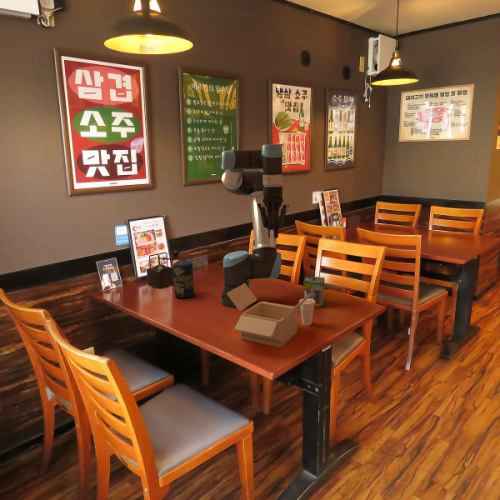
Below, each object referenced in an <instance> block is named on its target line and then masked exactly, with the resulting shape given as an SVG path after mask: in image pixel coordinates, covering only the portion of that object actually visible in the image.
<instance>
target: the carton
mask: <svg viewBox="0 0 500 500" xmlns="http://www.w3.org/2000/svg"><path fill="white" fill-rule="evenodd" d="M292 309H293V308H292V307H286V306H280V305H274V304H268V303H262V301H259V302H258V303H256V304H254V305H253V306H252V307H249V308H248V309H246V310H245V311H244V312H242V313H240V316H241V315H243V316H248V317H253V318H259V319H264V320H269V321H274V322H277V325H276V328H275V330H274V332H273V335H272V337H267V336H262V335H257V334H253V333H248V332H243V331H241V339H242V340H244V341H249V342H253V343H256V344H257V343H258V344H261V345H267V346H271V347H276V348H281V349H282V347H284V346H285V345H286V344H287V343H288V342H289V341H290V340H291V339H292V338H294V336H295V335H297V333H298V314H297V313H298V312H297V309H296V310H295V311H294V312H292V313H291V314H290V315H289V316H287V317H286V318H285V319H283V318H284V317H285V316H286V315H287V314H288V313H289V312H290V311H291V310H292Z"/></svg>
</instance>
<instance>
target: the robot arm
mask: <svg viewBox="0 0 500 500" xmlns="http://www.w3.org/2000/svg"><path fill="white" fill-rule="evenodd" d="M283 155H284V153H283V145H282V144H280V143H271V144H270V143H269V144H263V145H262V148H261V149H238V150H237V149H235V150H233V149H230V150H224V151H222V153H221V165H222V169H223V170H225V171H224V173H223V174H222V177H221V185H222V186H223V188H224V189H225V190H226V191H227V192H229V193H231V194H232V195H236V196H247V197H246V198H247V200H248V201H249V202H250V205H251V206H250V207H251V216H252V217H251V219H252V227H253V229H252V230H253V240H254V248H253V249H252V251H251V254H250V253H249V251H247V250H237V251H234V252H233V251H232V252H229V253H226V255H224V257H223V264H222V268H223V282H224V283H223V284H224V285H223V290H222V293H221V296H220V299H221V301H220V302H221V304H222V305H223V306H225V307H230V308H237V307H236V306H235V304H234V303H233V302H232V300H231V299H230V298H229V296H228V295H227V294H226V293H228V292H229V291H231V290H233V289H235V288H237V287H239V286H241V285H242V284H244V283H245V284H246V285H247V286H248V288H249V289H250V290H251V292H252V293H253V291H252V289H251V286H250V280H264V279H265V280H266V279H267V280H268V279H269V280H270V279H275V278H278V277H279V276H280V275H281V271H282V254H281V252H278V249H277V245H278V238H279V230H280V229H284V224H285V220H286V215H287V210H288V209H289V206H290V204H288V203H287V204H286V203H285V202H284V199H283V195H284V194H283V191H284V190H283V186H282V185H283V184H284V183H283V182H284V181H283ZM280 208H281V209H280Z"/></svg>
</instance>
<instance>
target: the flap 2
mask: <svg viewBox="0 0 500 500" xmlns="http://www.w3.org/2000/svg"><path fill="white" fill-rule="evenodd" d="M276 325H277V322H274V321H269V320H264V319H259V318H253V317H248V316H243V315H241V314H240V316H239V319H238V320H237V323H236V325H235V327H234V331H240V332H242V331H243V332H248V333H253V334H257V335H262V336H267V337H272V335H273V332H274V330H275V328H276Z"/></svg>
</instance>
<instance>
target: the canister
mask: <svg viewBox="0 0 500 500" xmlns="http://www.w3.org/2000/svg"><path fill="white" fill-rule="evenodd" d="M172 268H173V275H174V284H173V286H174V287H173V288H174V295H175V297H177V298H180V299H181V298H182V299H184V298H190V297H192V296H194V295H195V281H194V266H193V262H192V261H190V260H178V261H175V262H173V264H172Z"/></svg>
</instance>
